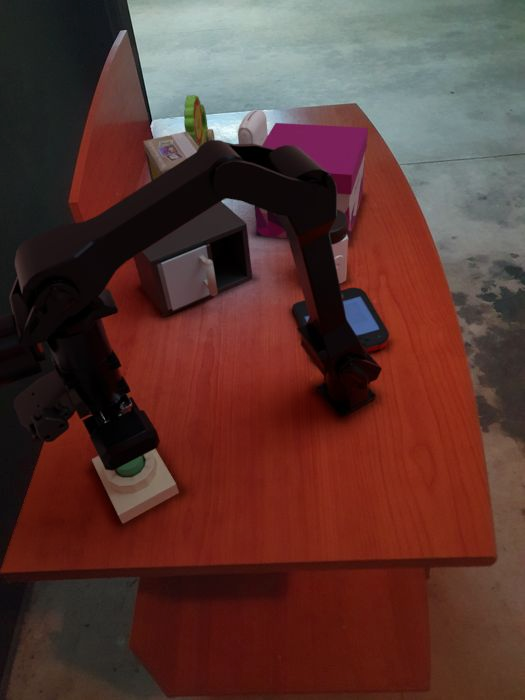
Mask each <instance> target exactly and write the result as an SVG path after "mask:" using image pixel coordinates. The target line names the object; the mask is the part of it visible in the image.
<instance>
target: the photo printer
mask: <svg viewBox="0 0 525 700" xmlns="http://www.w3.org/2000/svg"><path fill="white" fill-rule="evenodd" d="M268 135H269V133H268V120H267V115H266V113H265V112H264V111H263V110H262V109H252V110H251V111H249V112H248V113H247V114H246V115H245V116H244V117H243V118H242V121H241V122H240V124H239V127H238V129H237V139H238V140H237V141H238V144H257V145H261V146H262V145H263V143H264V141H265V140H266V138H267V136H268Z"/></svg>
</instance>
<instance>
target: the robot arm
mask: <svg viewBox="0 0 525 700" xmlns="http://www.w3.org/2000/svg"><path fill="white" fill-rule="evenodd" d="M225 199H228V200H232V201H233V200H234V201H239V202H242V203H245V204H248V205H251V206H254V207H255V206H256V207H258V208H261V209H264V210H266V211H269V212H271V213H274V214H275V215H276V217H277V219H278V220H279V222H280V223H281V225H282V226H283V228H284V230H285V231H286V233H287V236H288V238H287V240H288V243H289V247H290V250H291V254H292V258H293V262H294V266H295V269H296V273H297V277H298V280H299V283H300V287H301V291H302V294H303V298H304V300H305V302H306V306H307V310H308V313H309V319H308V321H307V323H306V324H305V325H303V326H301V327H300V326H298V327H297V328H296V330H297V331H298V334H299V335H300V338H301V339H300V340H301V341H300V346H301V347H302V349H303V350H304V351H305V352H306V354H307V355H308V357H309V358H310V359H311V361H312V362H313V364H314V365H315V366H316V367H317V369H318V371H320V373H321V374H322V375H323V383H321V384H320V385H317V386H316V388H315V391H316V393H317V394H318V395H319V396H320V397H321V398H322V399H323V400H324V401H325V402H326V403H327V405H328V406H329V407H330V408H331V409H332V410H333V411H334V412H335V413H336V414H337V415H338V416H339V417H341V418H344V417H346V416H347V415H349V414H351V413H352V412H354V411H356V410H358V409H360V408H361V407H363V406H365V405H367V404H369V403H370V402H372V401H374V400H375V399H376V396H377V395H376V393H375V392H374V391H372V390H371V388H369V387H370V386H369V385H370V383H372V382H375V381H377V380H378V378H379V376H380V374H381V372H382V366H380V364H379V363H378V362H377V361H376V359H374V357H373V356H372V355H371V354H370V352H367V351H366V349H365V348H364V347H363V346H362V344H361V342H360V340H359V338H358V337H357V335H356V334H355V332H354V330H353V329H352V327H351V326H350V324H349V323H348V321H347V319H346V314H345V309H344V304H343V299H342V294H341V290H342V288H341V284H339V279H338V274H337V269H336V264H335V259H334V254H333V249H332V244H331V239H330V229H331V227H332V225H333V223H334V221H335V219H336V216H337V185H336V183H335V180H334V178H333V177H332V176H331V175H330V174H329V173H328V172H327V171H326V170H324V169H323V168H322V167H321V166H320V165H319V164H317V163H316V162H315V161H314V160H313V159H312V158H310V157H309V156H308V155H307V154H306V153H305V152H303V151H302V150H301V149H300V148H298V147H295V146H293V145H284V146H281V147H278V148H276V149H273V148H269V147H265V146H261V145H257V144H239V143H231V142H226V141H223V140H220V139H216V140H210V141H207V142H205V143H203V144H202V145H201V146H200V147H199V148H198V150H197V152H196V153H195V154H193V155H191V156H190V157H188V158H187V159H185V160H184V161H182V162H181V163H179V164H177V165H176V166H174V167H173V168H171V169H170V170H168V171H166V172H165V173H163V174H162V175H160V176H159V177H157V178H156V179H154V180H152V181H151V180H150V181H149V182H148V183H146V184H144V185H143V186H141V187H140V188H138V189H137V190H135V191H134V192H132V193H130V194H129V195H127V196H125V197H124V198H123V199H121V200H120V201H118V202H116V203H115V204H113V205H112V206H110V207H109V208H107V209H105V210H104V211H102V212H101V213H99V214H97V215H96V216H94V217H91V218H89V219H87V220H84V221H78V222H71V223H63V224H59V225H57V226H55V227H52V228H50V229H48V230H44V231H43V232H41V233H38V234H36V235H34V236H31V237H29V238H28V239H25V241H23V242H22V243H21V244H20V245H19V247H18V248H17V250H16V253H15V257H14V258H15V259H14V268H15V271H16V275H17V276H16V278H15V281H14V283H13V286H12V289H11V291H10V294H9V302H10V308H11V312H12V313H8V314H4V315H0V388H1V387H4V386H7V385H9V384H12V383H15V382H18V381H21V380H24V379H27V378H29V377H33V376H35V375H38V374H40V373H42V372H43V369H42V367H41V363H42V362H45V361H47V358H46V354H45V350H44V348H43V345H42V343H46V344H47V346H48V349H49V350H50V352H51V355H50V359H51V363H52V365H53V366H54V370H52V371H50V372H49V373H47V374H44V375H42V376H40V377H39V378H38V379H37V380H35V381H34V382H33V383H32V384H30V385H29V386H28V387H27V388H25V389H24V390H23V391H22V392H20V393H19V394H18V395H17V396H16V397H15V398H14V401H13V407H14V409H15V412H16V414H17V417H18V419H19V422H20V424H21V426H22V427H24V428H25V429H26V430H27V432H28V433H29V434H31V436H32V439H33V440H34V441H36V442H37V441H43V442H44V443H45V442H46V443H51V442H54V441H56V440H57V439H58V438H59V437H61V435H63V434H64V433H65V432H67V431H68V430H69V429H70V423H69V420H71V419H72V417H73V416H74V415H75V413H76V414H77V416H78V417H79V419H80V420H82V424H83V425H84V427H85V428H86V431H87V433H88V435H89V438H90V441H91V442H92V445H93V447H94V449H95V451H96V454H97V456H99V457H100V459H101V461H102V463H103V465H104V467H105V469H106V470H111V471H113V470H115V469H117V468H119V467H121V466H123V465H125V464H127V463H128V462H130V461H132V460H134V459H136V458H138V457H140V456H142V455H144V454H146V453H148V452H150V451H152V450H154V449H156V450H157V449H158V447H159V445H160V443H161V440H160V437H159V434H158V432H157V430H156V427H155V426H154V425H153V423H152V421H151V420H150V418H149V416H148V415H147V413H146V411H145V410H144V409H140V407H138V405H137V403H136V402H135V399H134V398H133V396H128V394H129V393H131V388H130V386H129V384H128V382H127V381H126V379H125V378H124V376H123V374H122V373H121V369H120V368H121V367H122V364H121V360H120V359H119V357H118V356H117V354H116V352H115V350H114V349H113V347H112V344H111V342H110V340H109V336H108V334H107V331H106V328H105V326H104V323H103V320H102V319H104V318H107V317H110V316H113V315H116V314H117V313H118V312H119V308H118V306H117V303H116V301H115V299H114V296H113V294H112V292H111V290H110V289H108V288H107V286H108V285H109V283H110V281H111V280H112V279H113V277H114V275H115V274H116V272H117V271H118V270H119V269H120V268H122V267H123V266H124V265H125V264H126V263H127V262H129V261H130V260H132V259H134V257H135V256H136V255H138V254H139V253H141V252H143V251H144V250H146V249H147V248H149V247H150V246H152V245H154V244H155V243H157V242H158V241H160V240H161V239H163V238H164V237H166V236H168V235H169V234H171V233H172V232H174V231H175V230H177V229H179V228H180V227H182V226H183V225H185V224H186V223H188V222H189V221H191V220H193V219H194V218H196V217H197V216H199V215H200V214H202V213H203V212H205V211H207V210H208V209H210V208H211V207H213V206H214V205H216V204H218V203H219V202H223V201H224V200H225Z"/></svg>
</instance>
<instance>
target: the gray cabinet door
mask: <svg viewBox="0 0 525 700" xmlns="http://www.w3.org/2000/svg"><path fill="white" fill-rule="evenodd" d="M161 266H162V270H163V274H164V278H165V282H166V287H167V291H168V295H169V299H170V303H171V307H172V310H176V309H178V308H180V307H183V306H185V305H187V304H189V303H192V302H194V301H196V300H199V299H201V298H203V297H206V296H208V295H211V296H212V297H215V296H217V295H218V294H217V292H218V289H217V283H216V277H215V271H214V264H213V258H212V252H211V246H210V244H207V245H205V246H202V247H200V248H197V249H195V250H192V251H190V252H187V253H185V254H182V255H180V256H177V257H175V258H172V259H170V260H167V261H165V262H162V263H161Z"/></svg>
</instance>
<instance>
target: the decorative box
mask: <svg viewBox="0 0 525 700" xmlns="http://www.w3.org/2000/svg"><path fill="white" fill-rule="evenodd" d="M368 135H369V127H363V126H362V127H359V126H342V125H323V124H322V125H321V124H306V123H304V124H302V123H287V122H275V123H274V125H273V126H272V128H271V130H270V131H269V132H268V136H267V138H266V140H265V141H264V143H263V145H262V146H265V147H269V148H273V149H276V148H278V147H281V146H284V145H293V146H295V147H298V148H300V149H301V150H302V151H303V152H305V153H306V154H307V155H308V156H309V157H310V158H312V159H313V160H314V161H315V162H316V163H317V164H319V165H320V166H321V167H322V168H323V169H324V170H326V171H327V172H328V173H329V174H330V175H331V176H332V177H333V178H334V180H335V183H336V185H337V209H338V210H340V211H342V212H343V213H344V214H345V215H346V216H347V219H348V230H347V236H348V242H350V238H351V234H352V231H353V228H354V225H355V221H356V218H357V214H358V211H359V207H360V205H361V201H362V198H363V192H364V190H363V189H364V174H365V157H366V151H367V147H368V138H369V137H368ZM254 217H255V218H254V219H255V227H256V229H255V230H256V235H257V236H261V237H271V238H281V239H288V236H287V233H286V231H285V230H284V228H283V226H282V225H281V223H280V222H279V220H278V219H277V217H276V215H275V214H274V213H271V212H269V211H266V210H264V209H261V208H258V207H256V206H254Z"/></svg>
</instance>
